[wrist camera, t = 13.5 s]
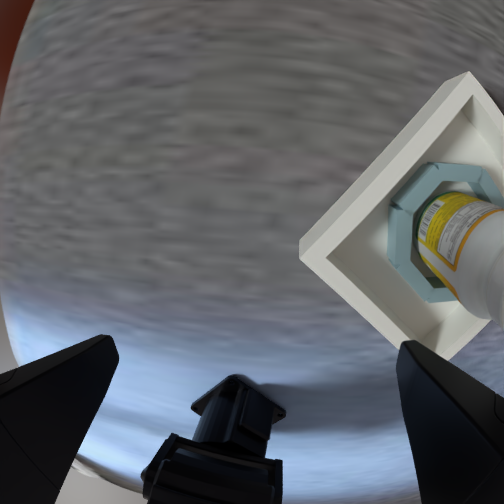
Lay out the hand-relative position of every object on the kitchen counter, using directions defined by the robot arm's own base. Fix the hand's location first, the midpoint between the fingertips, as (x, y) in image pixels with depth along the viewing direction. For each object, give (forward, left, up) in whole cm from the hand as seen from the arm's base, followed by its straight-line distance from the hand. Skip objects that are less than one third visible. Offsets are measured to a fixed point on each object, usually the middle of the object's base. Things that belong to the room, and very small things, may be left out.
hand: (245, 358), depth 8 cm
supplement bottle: (+8, -8, -11) cm, 16 cm away
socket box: (+8, -8, -12) cm, 16 cm away
